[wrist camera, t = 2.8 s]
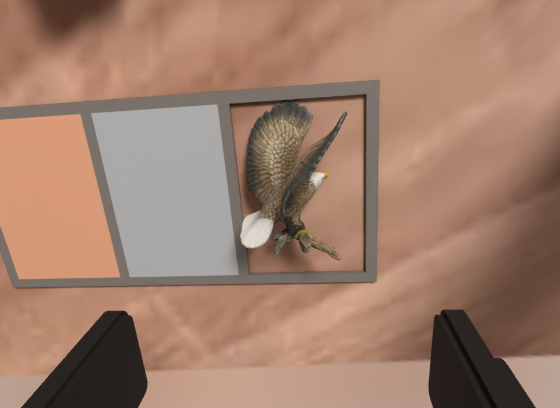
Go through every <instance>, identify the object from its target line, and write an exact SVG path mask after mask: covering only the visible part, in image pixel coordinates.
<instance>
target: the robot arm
mask: <svg viewBox="0 0 560 408" xmlns="http://www.w3.org/2000/svg"><path fill="white" fill-rule="evenodd" d="M146 390H147V377H146V373H145V369H144V364H143V360H142V356H141V352H140V347H139V343H138V339H137V335H136V330H135V326H134V322H133V318H132V317H131V316H130V315H128V314H127V312H126V311H106V312H105V313H103V314H102V316H101V317H100V318H99V319H98V320H97V321H96V322H95V324H94V325H93V326H92V327H91V328H90V329H89V331H88V332H87V333H86V334H85V335H84V336H83V337H82V339H81V340H80V341H79V342H78V343H77V344H76V345H75V347H74V348H73V349H72V350H71V351H70V352H69V353H68V355H67V356H66V357H65V358H64V359H63V360H62V361H61V363H60V364H59V365H58V366H57V367H56V368H55V369H54V371H53V372H52V373H51V374H50V375H49V376H48V377H47V379H46V380H45V381H44V382H43V383H42V384H41V385H40V387H39V388H38V389H37V390H36V391H35V392H34V393H33V395H32V396H31V397H30V398H29V399H28V400H27V401H26V403H25V404H24V405H23V406H22V407H21V408H138V406H139V405H140V403H141V401H142V399H143V397H144V395H145V393H146ZM429 396H430V399H431V402H432V405H433V408H536V407H534V404H533V403H532V401H531V400H530V398H529V397H528V395H527V394H526V392H525V391H524V389H523V388H522V386H521V385H520V383H519V382H518V380H517V379H516V377H515V376H514V374H513V373H512V371H511V369H510V368H509V366H508V365H507V364H506V363H505V361H504V360H503V359H501V358H494V357H493V356H492V354H491V353H490V351H489V349H488V348H487V346H486V345H485V343H484V341H483V340H482V338H481V337H480V335H479V334H478V332H477V330H476V329H475V327H474V326H473V324H472V322H471V321H470V319H469V318H468V316H467V314H466V313H465V312H464V310H442V311H441V314H440V315H435V317H434V327H433V339H432V350H431V362H430V374H429Z"/></svg>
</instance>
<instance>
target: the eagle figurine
mask: <svg viewBox="0 0 560 408" xmlns="http://www.w3.org/2000/svg"><path fill="white" fill-rule="evenodd" d="M346 115H347V112H346V111H345V112H344V113H343V115H342V116H341V118H340V119H339V121H338V123H337V125H336V127H335V128H334V129H333V130H332V131H331V132H330V133H329V134H328V135H327V136H326V137H324V138H322V139H321V140H319V141H318V142H317V143H315V144H313V145H312V146H311V147H310V148H309V149H308V150H306V151H305V153H304V154H303V155H302V157H301V158H300V159H299V161H298V162H297V164H296V161H297V157H298V153H299V148H300V144H301V141H302V139H303V138H304V136H305V134H306V132H307V130H308V127H309V126H310V124H311V121H312V118H313V115H312V114H311V113H308V111H307V108H306V107H305V106H300V103H299V102H298V101H297V100H294V101H293V102H292V101H291V100H289V99H288V100H285V101H284V102H283V103H282V104H279V103H277V104H275V105H274V106H273V108H272V110H271V112H269V111H265V112H264V115H263V117H259V118H258V119H257V121H256V123H255V124H254V128H252V129H251V135H250V136H249V145H248V155H249V156H248V157H247V160H248V162H247V167H248V169H247V182H248V184H249V190H250V191H251V192H252V194H253V195H255V196H256V198H257V199H258V200H260V204H262V205H263V206H262V209H261V210H259V211H257V212H255V213H252V214H250V215H248V216H246V218H245V219H244V221H243V223H242V231H241V234H240V238H241V244H242V245H244V246H245V247H246V248H258V247H260V246H262V245H264V244H265V243H266V242H267V241H268V239H269V237H270V235H271V233H272V229H273V226H274V224H275V223H276V222H277V221H278V220H279V219H280V220H281V221H282V222H283V221H285V223H286V227H287V228H286V229H284V230H283V231H282V232H280V233H279V234H277V235H275V236H274V237H273V238H272V240H273V241H276V240H278V239H279V241H278V244H277V246H276V248H275V251H274V253H275V255H278V254H279V253H280V250H281V249H282V247H283V246H284V245H285V244H286V243H288V242H290V241H292V239H293V238H295V239H297V240H299V244H300V247H301V249H302V251H303V252H304V253H308V252H309V251H310V249H311V247H313V248H316V249H318V250H321V251H323V252H325V253H327V254H329V255H330V256H331V257H332V258H334V259H336V260H341V256H340V254H339V253H338V252H337V251H336V249H335V248H333V247H330V246H328V245H327V244H325V243H324V242H322V241H319V240H317V238H316V237H315V236H314V234H312V233H311V232H309V230H307V229H305V226H304V223H303V222H302V221H301V220H300V210H301V207H302V206H303V204H305V203H306V202H307V201H308V200H309V199H310V198H311V197H312V195H313V193H314V192H315V190H316V189H317V188H318V186H319V185H320V184H321V183H322V181H323V179H324V178H326V177H327V176H328V175H327V173H321V172H314V173H313V171H314V170H315V169H316V167H317V164H318V163H319V162H320V160H321V158H322V157H323V155H324V153H325V152H326V151H327V149H328V147H329V146H330V144H331V143H332V141H333V140H334V138H335V136H336V135H337V133H338V131H339V129H340V126H341V125H342V123H343V121H344V119H345V117H346Z"/></svg>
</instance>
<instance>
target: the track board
mask: <svg viewBox="0 0 560 408" xmlns="http://www.w3.org/2000/svg"><path fill="white" fill-rule="evenodd" d="M379 89H380V80H370V81H356V82H343V83H329V84H316V85H302V86H288V87H275V88H261V89H248V90H234V91H221V92H207V93H194V94H180V95H167V96H153V97H140V98H126V99H112V100H99V101H85V102H72V103H58V104H45V105H31V106H18V107H4V108H0V252H1V255H2V258H3V260H4V263H5V266H6V269H7V272H8V274H9V277H10V280H11V283H12V285H13V288H21V287H83V286H145V285H207V284H269V283H331V282H377V221H378V155H379ZM360 94H366V245H365V271H325V272H273V273H249V265H248V256H247V248H246V247H245V246H244V245H242V244H241V238H240V234H241V231H242V223H243V213H242V204H241V195H240V186H239V177H238V169H237V160H236V151H235V142H234V134H233V125H232V116H231V107H230V104H231V103H245V102H260V101H274V100H288V99H303V98H317V97H331V96H345V95H360Z"/></svg>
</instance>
